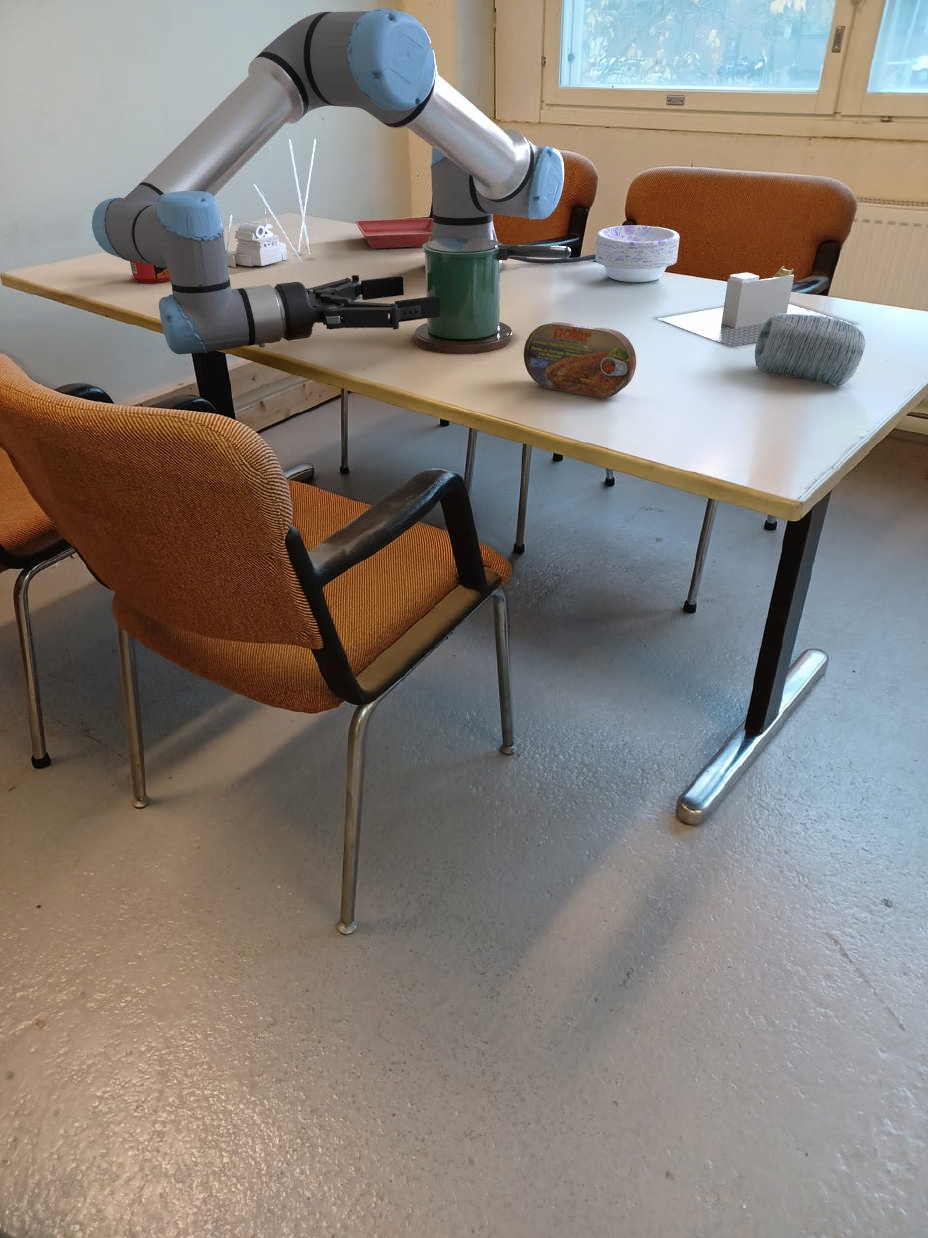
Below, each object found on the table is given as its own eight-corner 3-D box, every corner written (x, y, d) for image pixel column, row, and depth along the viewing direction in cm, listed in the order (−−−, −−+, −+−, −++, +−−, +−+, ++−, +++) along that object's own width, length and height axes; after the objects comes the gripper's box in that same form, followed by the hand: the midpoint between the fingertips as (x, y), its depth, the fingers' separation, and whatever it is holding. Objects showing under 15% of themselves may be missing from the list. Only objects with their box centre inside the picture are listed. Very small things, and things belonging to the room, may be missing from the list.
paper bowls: (639, 291, 159) (644, 243, 154) (577, 276, 168) (579, 232, 164) (691, 277, 167) (697, 232, 163) (629, 264, 177) (632, 221, 172)
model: (721, 323, 141) (728, 272, 137) (771, 314, 145) (780, 264, 141) (735, 328, 139) (743, 276, 134) (785, 318, 143) (795, 268, 138)
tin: (521, 384, 118) (523, 319, 113) (532, 377, 120) (534, 314, 115) (626, 404, 111) (632, 336, 107) (635, 396, 113) (642, 330, 109)
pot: (416, 337, 131) (413, 249, 124) (436, 316, 140) (433, 233, 134) (561, 345, 127) (565, 255, 120) (571, 323, 136) (576, 238, 129)
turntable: (482, 320, 144) (482, 312, 143) (530, 343, 133) (531, 335, 132) (398, 333, 138) (398, 325, 137) (442, 359, 127) (441, 350, 126)
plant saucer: (432, 231, 207) (432, 216, 205) (447, 247, 192) (447, 230, 190) (355, 236, 204) (354, 220, 202) (365, 251, 189) (364, 235, 187)
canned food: (164, 284, 167) (152, 221, 161) (125, 282, 168) (112, 220, 162) (183, 275, 173) (172, 214, 167) (145, 273, 174) (133, 213, 168)
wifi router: (265, 242, 198) (251, 130, 186) (339, 254, 187) (329, 135, 175) (176, 263, 182) (154, 141, 169) (251, 277, 171) (234, 147, 158)
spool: (733, 353, 117) (777, 282, 114) (752, 368, 125) (794, 302, 122) (822, 401, 111) (871, 327, 108) (837, 413, 119) (883, 346, 116)
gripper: (259, 318, 133) (390, 302, 141) (307, 365, 114) (456, 343, 122) (252, 266, 129) (387, 252, 136) (301, 306, 110) (455, 286, 118)
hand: (420, 295), depth 129 cm, fingers open, 13 cm apart
